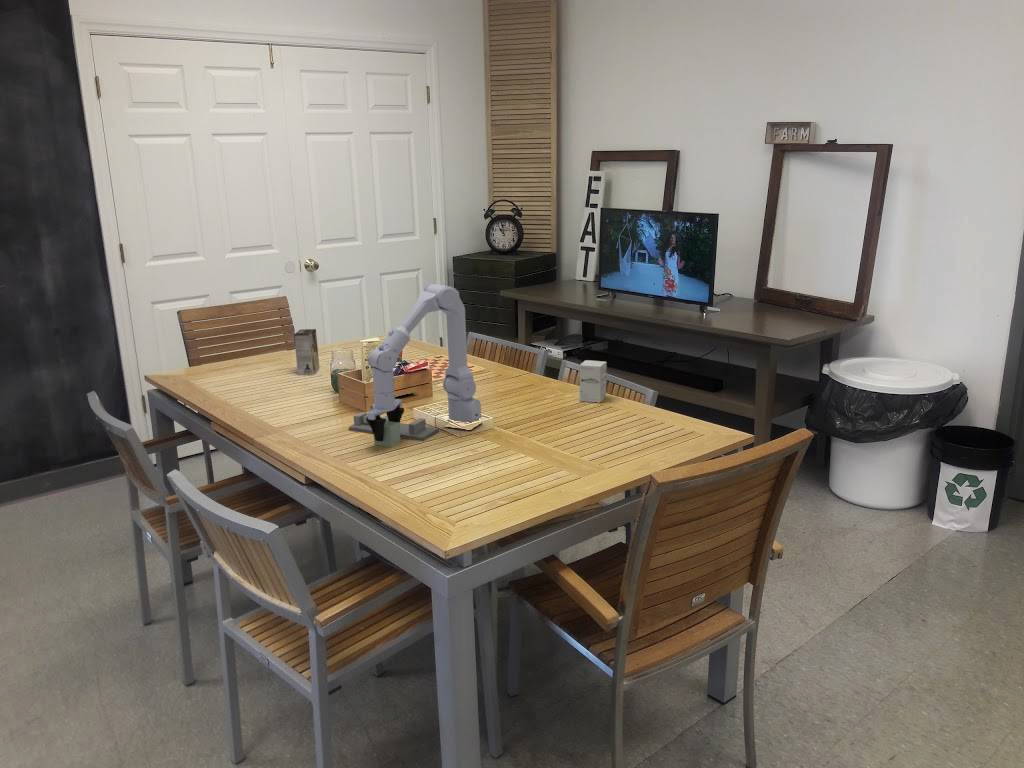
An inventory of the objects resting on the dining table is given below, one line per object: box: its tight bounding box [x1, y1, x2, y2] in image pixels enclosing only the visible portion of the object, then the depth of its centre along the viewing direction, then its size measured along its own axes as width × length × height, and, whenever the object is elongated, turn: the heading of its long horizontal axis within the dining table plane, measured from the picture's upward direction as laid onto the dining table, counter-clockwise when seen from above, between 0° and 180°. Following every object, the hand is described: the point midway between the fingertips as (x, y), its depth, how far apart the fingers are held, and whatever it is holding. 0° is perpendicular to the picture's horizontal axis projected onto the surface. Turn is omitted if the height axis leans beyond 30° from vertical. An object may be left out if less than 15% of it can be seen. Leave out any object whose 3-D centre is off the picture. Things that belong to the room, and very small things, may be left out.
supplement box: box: [578, 359, 607, 404], centre depth 270 cm, size 7×7×13 cm
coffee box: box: [293, 328, 320, 376], centre depth 312 cm, size 9×6×16 cm
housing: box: [373, 421, 402, 448], centre depth 234 cm, size 6×4×6 cm
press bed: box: [348, 411, 439, 442], centre depth 244 cm, size 26×9×4 cm, turn 65°
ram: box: [362, 405, 389, 423], centre depth 246 cm, size 9×6×6 cm, turn 65°
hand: (386, 436), depth 234 cm, fingers open, 7 cm apart
